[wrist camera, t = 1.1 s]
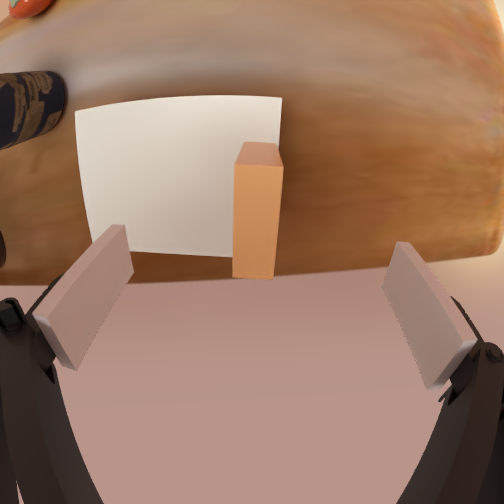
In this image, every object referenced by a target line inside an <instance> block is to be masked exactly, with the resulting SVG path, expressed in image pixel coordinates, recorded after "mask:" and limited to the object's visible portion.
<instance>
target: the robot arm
mask: <svg viewBox="0 0 504 504" xmlns="http://www.w3.org/2000/svg"><path fill="white" fill-rule="evenodd" d="M5 257H6V254H5V246H4V242H3V239H2V236H1V233H0V268H1V267H2V266H3V265H4V263H5ZM133 273H134V271H133V266H132V261H131V256H130V251H129V245H128V240H127V234H126V228H125V225H115V224H112V225H111V226H110V227H109V228H108V229H107V230H106V231H105V232H104V233H103V234H102V235H101V236H100V237H99V238H98V239H97V240H96V241H95V242H94V243H93V244H92V245H91V246H90V247H89V248H88V249H87V250H86V251H85V252H84V253H83V254H82V255H81V256H80V258H79V259H78V260H77V261H76V262H75V263H74V264H73V265H72V266H71V267H70V268H69V270H68V271H67V272H66V273H65V274H62V275H61V276H59V277H58V278H56V279H55V280H54V281H53V282H52V283H51V284H50V285H49V286H48V289H46V290H45V291H44V292H43V294H42V295H41V296H40V297H39V299H37V301H36V302H35V303H34V304H33V306H32V307H31V308H30V310H29V311H28V312H27V314H26V315H25V314H24V312H23V310H22V308H21V306H20V304H19V302H18V300H17V299H15V298H6V299H4V300H2V301H0V504H19V499H18V491H17V484H18V487H19V490H20V493H21V496H22V499H23V502H24V504H104V503H103V501H102V500H101V498H100V496H99V494H98V492H97V490H96V488H95V485H94V483H93V482H92V479H91V477H90V475H89V473H88V470H87V468H86V465H85V463H84V461H83V458H82V456H81V453H80V451H79V448H78V446H77V443H76V440H75V437H74V434H73V431H72V428H71V425H70V422H69V419H68V416H67V412H66V408H65V405H64V401H63V397H62V394H61V390H60V386H59V381H58V377H57V372H56V368H55V366H54V364H53V361H54V359H55V357H57V359H58V360H59V362H60V363H61V365H62V366H64V367H67V368H70V369H73V370H76V371H77V369H78V367H79V365H80V364H81V362H82V360H83V358H84V356H85V354H86V352H87V350H88V349H89V347H90V345H91V343H92V341H93V339H94V338H95V336H96V334H97V332H98V330H99V329H100V327H101V325H102V323H103V322H104V320H105V318H106V317H107V315H108V313H109V311H110V310H111V308H112V306H113V305H114V303H115V302H116V300H117V298H118V297H119V295H120V293H121V292H122V290H123V289H124V287H125V285H126V284H127V282H128V281H129V279H130V277H131V276H132V274H133ZM382 289H383V291H384V293H385V295H386V297H387V299H388V301H389V302H390V305H391V307H392V309H393V311H394V313H395V315H396V318H397V319H398V322H399V324H400V326H401V328H402V331H403V333H404V335H405V337H406V340H407V342H408V344H409V347H410V349H411V351H412V354H413V356H414V358H415V361H416V363H417V366H418V368H419V371H420V374H421V376H422V379H423V381H424V384H425V387H426V389H427V391H428V390H433V389H438V388H441V387H442V386H443V385H444V384H445V383H446V382H447V380H448V379H450V381H451V383H452V385H451V386H450V387H449V388H448V389H447V391H446V392H445V393H444V394H443V395H442V396H441V397H440V399H439V400H438V401H439V402H441V401H442V400H443V398H445V400H444V403H443V406H442V409H441V412H440V414H439V417H438V420H437V422H436V425H435V428H434V430H433V432H432V435H431V437H430V440H429V442H428V445H427V446H426V449H425V451H424V453H423V455H422V457H421V460H420V462H419V464H418V466H417V468H416V469H415V471H414V473H413V475H412V477H411V479H410V481H409V483H408V484H407V486H406V488H405V490H404V492H403V493H402V495H401V497H400V498H399V500H398V502H397V503H396V504H504V354H503V352H502V350H500V348H499V347H498V346H497V345H495V344H493V343H490V342H486V343H485V342H484V341H483V339H482V337H481V336H480V334H479V332H478V331H477V329H476V327H475V326H474V324H473V323H472V321H471V320H469V319H470V318H469V317H468V315H467V314H466V313H465V311H464V309H463V308H462V306H461V305H460V303H458V301H456V300H455V299H454V298H453V297H452V296H449V294H448V293H447V291H446V290H445V289H444V287H443V286H442V284H441V283H440V281H439V280H438V279H437V277H436V276H435V275H434V273H433V272H432V271H431V269H430V268H429V267H428V265H427V264H426V263H425V262H424V260H423V259H422V258H421V256H420V255H419V254H418V253H417V251H416V250H415V249H414V248H413V247H412V245H411V244H410V243H408V242H396V246H395V249H394V252H393V255H392V258H391V262H390V265H389V268H388V271H387V274H386V277H385V279H384V282H383V285H382ZM16 480H17V483H16Z"/></svg>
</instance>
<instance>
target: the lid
mask: <svg viewBox="0 0 504 504" xmlns="http://www.w3.org/2000/svg"><path fill="white" fill-rule="evenodd" d="M281 105H282V98H278V97H263V96H235V95H210V96H183V97H168V98H156V99H147V100H138V101H130V102H123V103H116V104H110V105H104V106H99V107H94V108H88V109H84V110H79V111H75V125H76V140H77V151H78V160H79V169H80V176H81V183H82V190H83V196H84V202H85V208H86V213H87V218H88V223H89V228H90V232H91V237H92V241H93V243H94V242H95V241H96V240H97V239H98V238H99V237H100V236H101V235H102V234H103V233H104V232H105V231H106V230H107V229H108V228H109V227H110V226H111V225H112V224H115V225H125V228H126V234H127V240H128V245H129V251H136V252H152V253H169V254H185V255H202V256H219V257H233V277H234V278H251V279H270V280H273V275H274V265H275V255H276V246H277V235H278V225H279V214H280V203H281V192H282V181H283V169H284V167H283V163H282V160H281V157H280V154H279V151H278V150H279V135H280V121H281Z"/></svg>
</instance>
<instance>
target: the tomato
mask: <svg viewBox="0 0 504 504" xmlns="http://www.w3.org/2000/svg"><path fill="white" fill-rule="evenodd" d="M52 1H53V0H9V2H10V3H9V13H10V15H11V16H12V17H13V18H15V19H26V18H29V17H33V16H35V15H37V14H39V13H40V12H42V11H43V10H44V9H46V8H47V7H48V6H49V5H50V4H51V2H52Z"/></svg>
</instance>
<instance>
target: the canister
mask: <svg viewBox="0 0 504 504" xmlns="http://www.w3.org/2000/svg"><path fill="white" fill-rule="evenodd" d="M63 103H64V91H63V86H62V83H61V81H60V79H59V78H58V77H57V76H56V75H55V74H54V73H52V72H50V71H31V72H18V73H3V74H0V150H2V149H6V148H9V147H11V146H14V145H16V144H19V143H21V142H24V141H27V140H29V139H31V138H34V137H37V136H40V135H43V134H45V133H46V132H48V131H49V130H50V129H52V127H53V126H54V125H55V124H56V123H57V121H58V119H59V117H60V115H61V112H62V108H63Z"/></svg>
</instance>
